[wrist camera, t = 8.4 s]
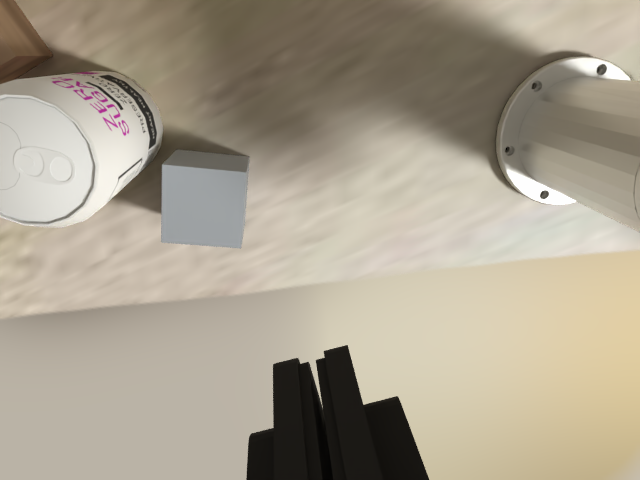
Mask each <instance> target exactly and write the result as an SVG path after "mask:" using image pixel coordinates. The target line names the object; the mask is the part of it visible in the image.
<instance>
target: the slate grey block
mask: <svg viewBox="0 0 640 480" xmlns="http://www.w3.org/2000/svg"><path fill="white" fill-rule="evenodd" d="M248 171H249V156H239V155H229V154H219V153H209V152H199V151H188V150H178V149H176V150H175V151H174V152H173V153H172V155H171V156H170V157H169V158H168V159H167V160H166V161H165V162H164V163H163V164H162V220H161V242H162V243H176V244H189V245H202V246H216V247H229V248H241V246H242V240H243V233H244V226H245V214H246V199H247V185H248Z"/></svg>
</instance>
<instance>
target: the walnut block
mask: <svg viewBox="0 0 640 480" xmlns="http://www.w3.org/2000/svg"><path fill="white" fill-rule="evenodd" d="M52 56H53V54H52V53H51V52H50V50H49V49H48V47H47V46H46V45H45V43H44V42H43V40H42V39H41V37H40V36H39V35H38V33H37V32H36V30H35V29H34V28H33V26H32V25H31V23H30V22H29V20H28V19H27V18H26V16H25V15H24V13H23V12H22V11H21V9H20V8H19V6H18V5H17V3H16V2H15V1H14V0H0V84H3V83H6V82H9V81H12V80H14V79H16V78H17V77H19V76H21V75H22V74H24V73H26V72H27V71H29V70H30V69H32V68H34V67H35V66H37V65H39V64H40V63H42V62H44V61H45V60H47V59H48V58H50V57H52Z"/></svg>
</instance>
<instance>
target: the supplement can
mask: <svg viewBox="0 0 640 480" xmlns="http://www.w3.org/2000/svg"><path fill="white" fill-rule="evenodd" d="M162 135H163V124H162V120H161V115H160V111H159V109H158V107H157V105H156V104H155V102H154V100H153V99H152V97H151V96H150V94H149V93H148V92H147V91H146V90H145V89H144V88H143V87H141V86H140V85H139V84H138V83H137V82H136V81H134V80H133V79H130V78H128V77H126V76H123V75H121V74H118V73H116V72H106V71H89V72H80V73H71V74H61V75H52V76H43V77H34V78H25V79H16V80H12V81H9V82H6V83H3V84H0V217H1V218H4V219H7V220H10V221H13V222H16V223H19V224H22V225H25V226H35V227H56V228H63V227H66V226H69V225H72V224H76V223H79V222H82V221H85V220H87V219H88V218H89V217H90V216H92V215H93V214H94V213H96V212H97V211H98V210H99V209H101V208H102V207H103V206H104V205H105V204H106V203H108V202H109V201H110V200H111V199H112V198H113V197H114V196H115V195H116V194H117V193H118V192H119V191H120V190H122V189H123V188H124V187H125V186H126V185H127V184H128V183H129V182H130V181H131V180H132V179H133V178H135V177H136V176H137V175H138V174H139V173H140V172H141V171H142V170H143V169H144V168H145V167H146V166H148V165H149V164H150V163H151V162H152V161H153V159H154V157H155V156H156V154H157V152H158V150H159V149H160V147H161V142H162Z"/></svg>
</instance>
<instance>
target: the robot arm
mask: <svg viewBox="0 0 640 480" xmlns="http://www.w3.org/2000/svg"><path fill="white" fill-rule="evenodd" d="M533 83H534V87H533V88H532V84H533ZM506 147H508V149H507V151H505V149H506ZM496 151H497V158H498V161H499V165H500V168H501V170H502V172H503V174H504V176H505V178H506V179H507V180H508V182H509V183H510V184H511V185H512V187H513V188H515V189H516V190H517V191H518V192H520V193H521V194H522V195H524V196H526V197H528V198H530V199H531V200H534V201H537V202H539V203H543V204H550V205H564V204H571V203H575V202H579V203H581V204H583V205H585V206H587V207H589V208H591V209H593V210H595V211H597V212H599V213H601V214H603V215H605V216H607V217H609V218H611V219H613V220H615V221H617V222H619V223H622V224H624V225H626V226H628V227H630V228H632V229H634V230H636V231H638V232H640V81H632V80H631V79H630V77H629V76H628V75H627V74H626V73H625V72H624V71H623V70H622V69H621V68H620V67H618V66H616V65H615V64H613V63H611V62H609V61H607V60H603V59H600V58H597V57H585V56H581V57H568V58H564V59H560V60H556V61H554V62H551V63H549V64H547V65H545V66H543V67H541V68H540V69H538V70H537V71H535V72H534V73H533V74H531V75H530V76H529V77H527V78H526V79H525V80H524V81H523V82H522V83H521V84H520V85H519V86H518V88H517V89H516V90H515V92H514V93H513V94H512V96H511V97H510V99H509V100H508V102H507V104H506V106H505V108H504V110H503V112H502V115H501V118H500V121H499V124H498V129H497V137H496ZM540 193H541V194H540ZM324 356H325V358H322V359H318V360H316V364H317V371H318V378H319V385H320V392H321V399H322V405H323V408H322V405H321V402H320V398H319V395H318V391H317V388H316V385H315V381H314V378H313V374H312V371H311V367H310V364H309V362H306V363H302V364H300V362H299V359H298V358H296V359H291V360H287V361H283V362H279V363H276V364H274V365H273V403H274V404H273V405H274V406H273V407H274V410H273V411H274V413H273V414H274V428H272V429H268V430H264V431H260V432H256V433H252V434H251V435H250V437H249V445H248V463H247V480H429V478H428V475H427V473H426V470H425V467H424V464H423V462H422V459H421V456H420V454H419V451H418V449H417V446H416V443H415V440H414V437H413V435H412V432H411V429H410V427H409V424H408V421H407V419H406V416H405V413H404V411H403V408H402V405H401V403H400V400H399V398H398V397H397V396H396V397H392V398H389V399H385V400H381V401H377V402H373V403H369V404H366V405H363V402H362V399H361V395H360V391H359V387H358V383H357V379H356V376H355V372H354V368H353V364H352V360H351V357H350V353H349V349H348V345H346V346H342V347H338V348H334V349H330V350H326V351H324Z"/></svg>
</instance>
